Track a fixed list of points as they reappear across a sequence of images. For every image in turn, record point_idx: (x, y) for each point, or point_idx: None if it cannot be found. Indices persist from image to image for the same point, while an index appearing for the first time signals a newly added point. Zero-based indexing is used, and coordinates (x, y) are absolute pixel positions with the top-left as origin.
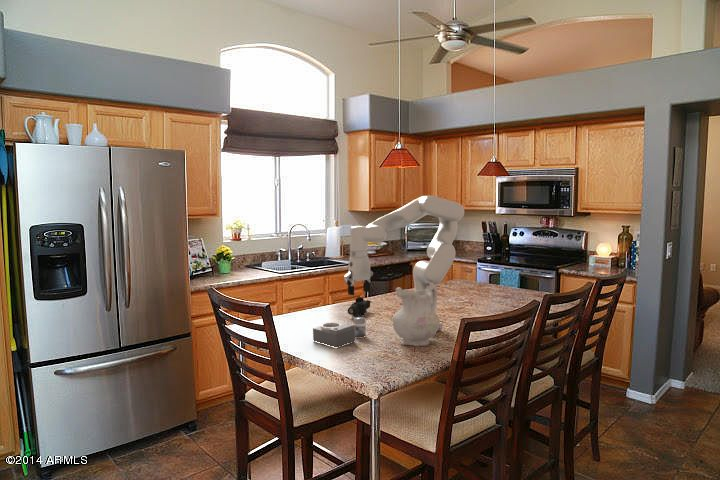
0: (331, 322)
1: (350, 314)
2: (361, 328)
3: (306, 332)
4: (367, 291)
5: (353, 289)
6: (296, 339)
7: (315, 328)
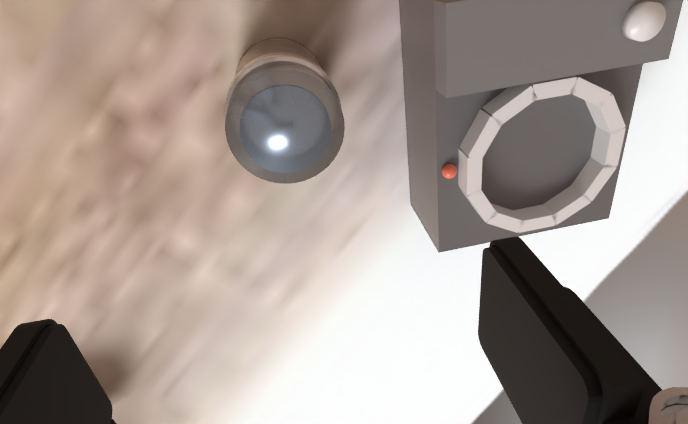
0: (491, 216)
1: (113, 421)
2: (300, 55)
3: (455, 323)
4: (67, 337)
5: (578, 311)
6: (565, 261)
7: (603, 205)
